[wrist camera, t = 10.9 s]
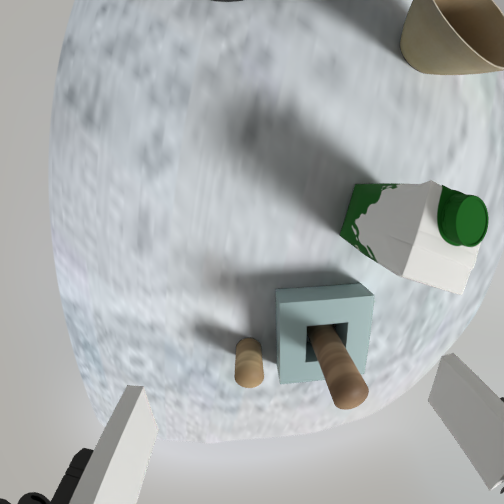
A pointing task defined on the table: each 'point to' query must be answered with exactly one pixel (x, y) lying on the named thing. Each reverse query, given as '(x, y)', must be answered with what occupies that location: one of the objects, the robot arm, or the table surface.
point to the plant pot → (454, 37)
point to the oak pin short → (249, 363)
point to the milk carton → (418, 231)
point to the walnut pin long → (337, 367)
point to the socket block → (320, 313)
